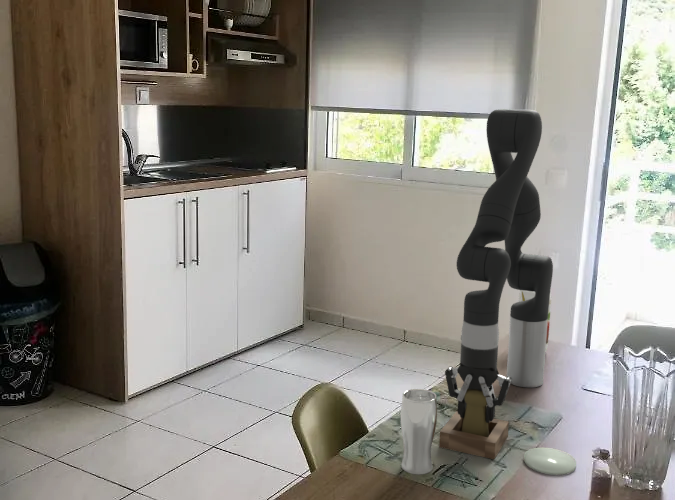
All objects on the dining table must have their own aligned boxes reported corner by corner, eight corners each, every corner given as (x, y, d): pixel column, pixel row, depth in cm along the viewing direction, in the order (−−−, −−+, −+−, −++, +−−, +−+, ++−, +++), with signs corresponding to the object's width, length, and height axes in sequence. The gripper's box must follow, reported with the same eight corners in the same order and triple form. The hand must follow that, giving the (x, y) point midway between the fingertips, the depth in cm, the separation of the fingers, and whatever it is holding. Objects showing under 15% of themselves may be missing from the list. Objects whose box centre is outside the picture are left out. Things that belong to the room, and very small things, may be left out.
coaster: (529, 447, 155) (529, 443, 154) (579, 457, 150) (579, 454, 150) (518, 467, 146) (519, 464, 146) (571, 479, 141) (571, 475, 141)
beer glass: (425, 479, 141) (428, 405, 138) (392, 469, 144) (395, 397, 141) (440, 464, 147) (443, 393, 144) (408, 455, 150) (411, 385, 147)
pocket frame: (455, 425, 164) (456, 411, 163) (507, 436, 159) (508, 421, 159) (439, 447, 154) (439, 431, 153) (494, 459, 149) (495, 443, 148)
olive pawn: (489, 446, 153) (492, 396, 151) (459, 443, 154) (462, 393, 152) (489, 433, 159) (492, 385, 157) (460, 430, 160) (463, 382, 158)
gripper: (518, 342, 153) (513, 419, 156) (451, 331, 159) (448, 406, 162) (510, 353, 146) (505, 433, 149) (440, 342, 152) (437, 419, 156)
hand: (475, 418), depth 156 cm, fingers closed on olive pawn, 5 cm apart
